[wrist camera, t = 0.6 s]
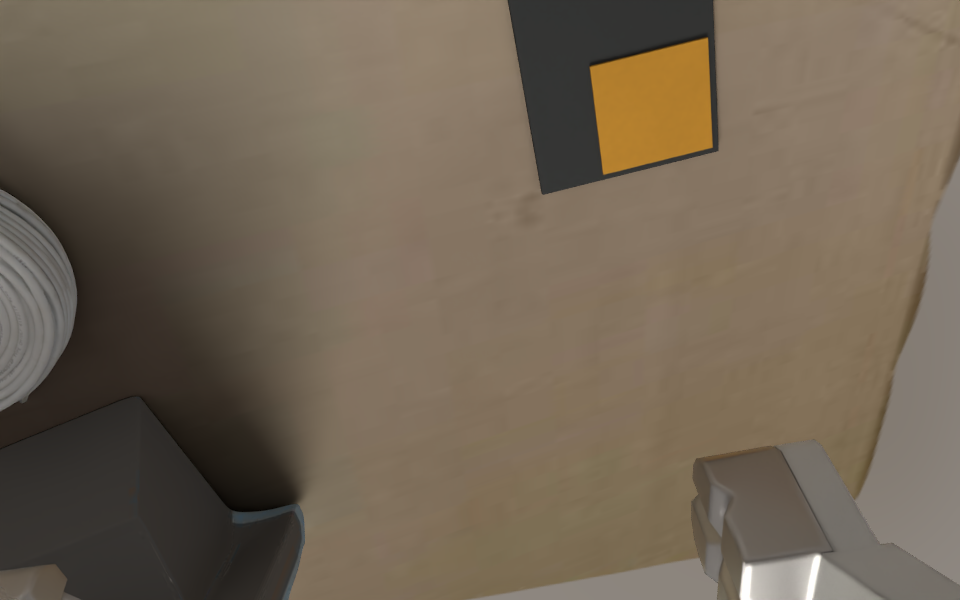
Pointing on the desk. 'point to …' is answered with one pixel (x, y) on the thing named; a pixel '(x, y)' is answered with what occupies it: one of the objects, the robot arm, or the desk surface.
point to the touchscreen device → (136, 516)
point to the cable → (31, 300)
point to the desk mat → (615, 85)
